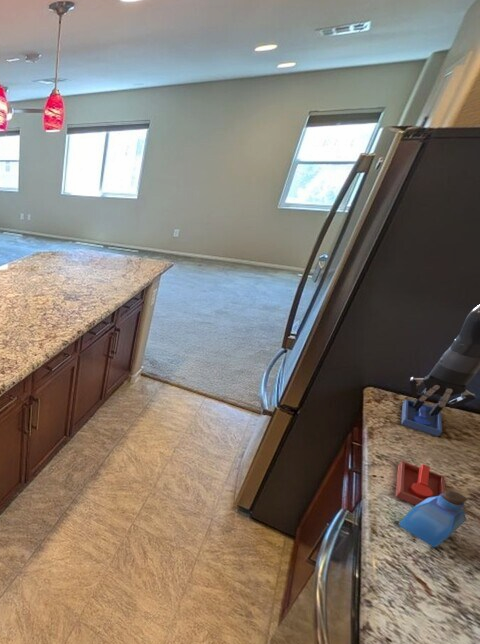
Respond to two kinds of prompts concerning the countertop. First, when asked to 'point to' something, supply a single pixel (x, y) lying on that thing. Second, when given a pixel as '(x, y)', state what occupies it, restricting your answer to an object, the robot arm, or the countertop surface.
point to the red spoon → (422, 483)
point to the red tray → (409, 476)
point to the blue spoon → (421, 417)
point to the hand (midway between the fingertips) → (423, 411)
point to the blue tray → (407, 421)
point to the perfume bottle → (436, 517)
